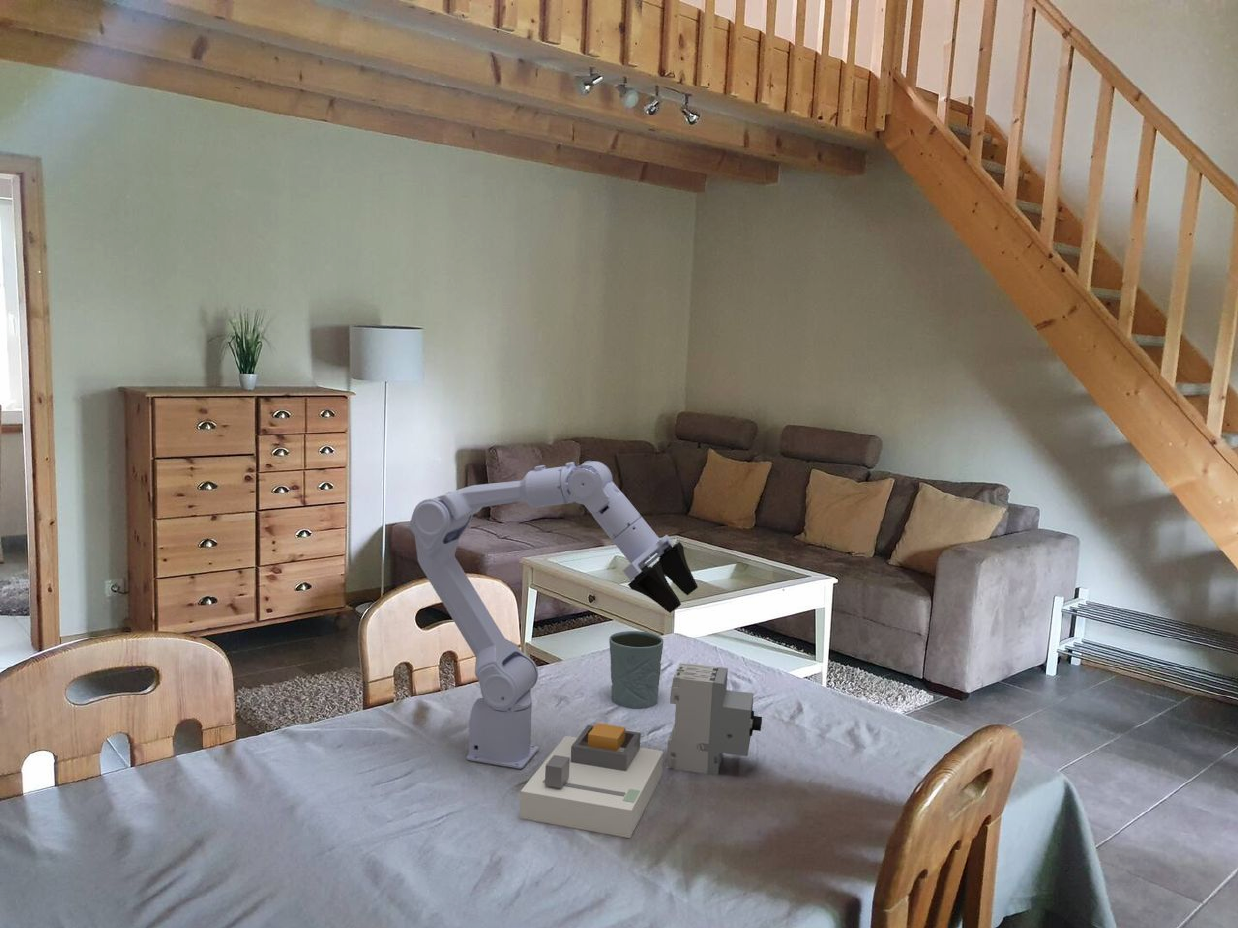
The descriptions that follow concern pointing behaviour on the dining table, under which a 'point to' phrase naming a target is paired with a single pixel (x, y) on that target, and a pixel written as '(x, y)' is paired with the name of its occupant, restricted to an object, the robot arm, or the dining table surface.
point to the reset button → (606, 737)
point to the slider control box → (596, 786)
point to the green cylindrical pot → (635, 668)
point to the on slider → (557, 771)
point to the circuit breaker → (708, 719)
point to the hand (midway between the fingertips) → (684, 599)
